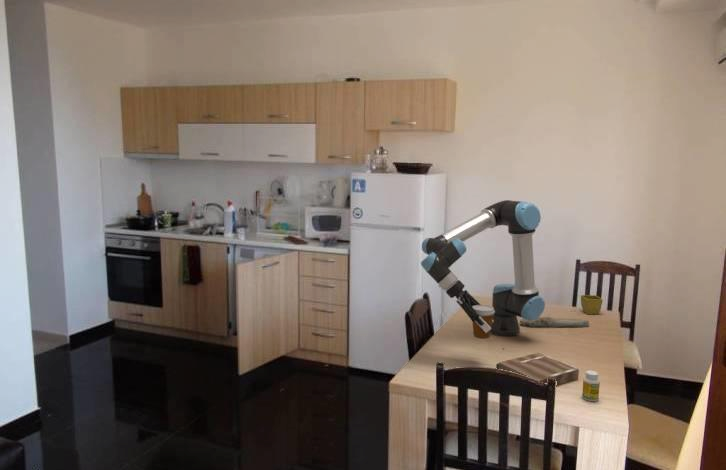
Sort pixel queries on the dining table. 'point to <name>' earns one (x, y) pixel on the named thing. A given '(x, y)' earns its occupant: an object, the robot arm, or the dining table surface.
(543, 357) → the dock
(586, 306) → the flower pot
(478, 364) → the dining table surface
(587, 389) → the supplement bottle
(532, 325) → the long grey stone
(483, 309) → the disposable coffee cup
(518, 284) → the robot arm
